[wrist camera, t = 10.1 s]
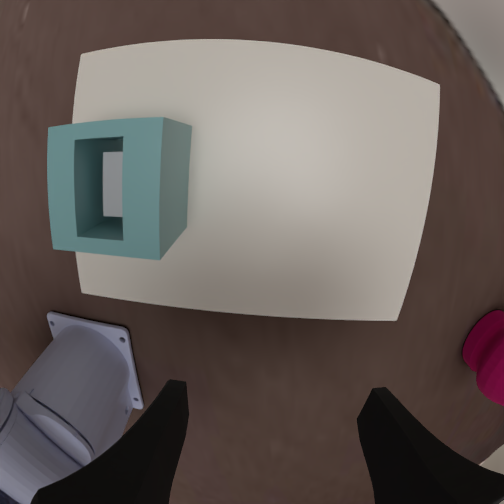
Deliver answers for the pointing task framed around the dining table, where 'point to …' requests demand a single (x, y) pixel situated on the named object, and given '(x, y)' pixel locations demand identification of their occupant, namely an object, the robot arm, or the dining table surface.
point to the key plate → (272, 176)
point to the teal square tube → (133, 186)
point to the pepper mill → (487, 355)
